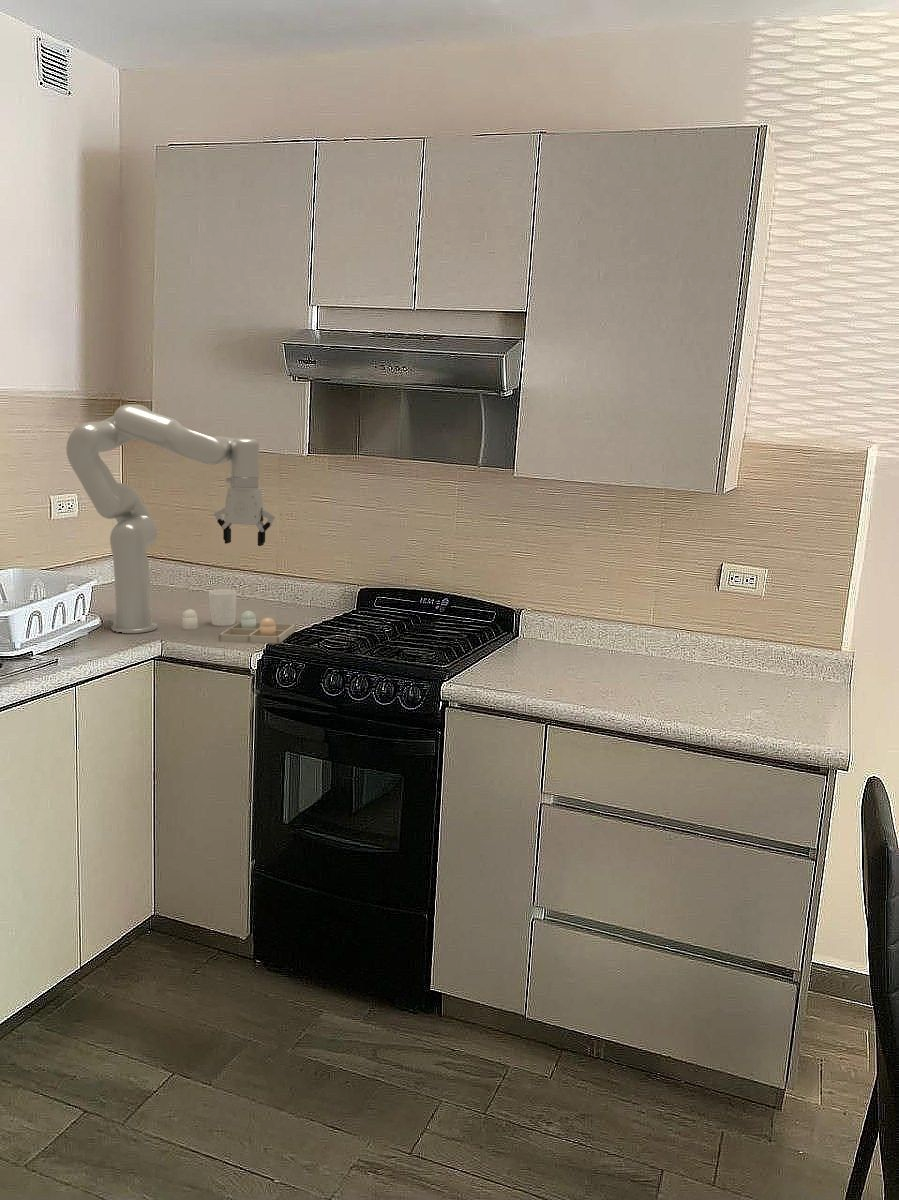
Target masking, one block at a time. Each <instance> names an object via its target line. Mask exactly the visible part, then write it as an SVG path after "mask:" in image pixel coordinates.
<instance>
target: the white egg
mask: <svg viewBox="0 0 899 1200" xmlns="http://www.w3.org/2000/svg"><path fill="white" fill-rule="evenodd" d="M198 615H199V614H198V613H197V611H196V610H194V609H192V608H187V609H186V610H184V611H183V613H182V629H183V630H186V631H188V630H193V631H194V630H197V629H199V625H198V624H199V622H198V621H199V620H198V618H199V617H198Z"/></svg>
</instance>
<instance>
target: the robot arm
mask: <svg viewBox="0 0 899 1200" xmlns="http://www.w3.org/2000/svg"><path fill="white" fill-rule="evenodd" d="M134 440H139V441H142V442H145V443H148V444H152V445H154V446H158V447H159V448H160V447H161V448H162V449H163V448H164V449H165V450H167V451H170V452H171V453H172V452H173V453H175V454H177V455H178V456H182V457H185V458H187V459H191V460H194V461H196V462H199V463H201V464H206V465H210V466H212V465H214V466H215V465H219V464H225V463H230V464H231V465H230V469H231V471H230V477H227V478H226V484H227V483H228V484H230V487H227V491H226V496H225V505H224V508H221V509H220V510H218V511H215V512H214V513H213V514H214V516H215V519H216V521H217V524H218V525H219V526H221V528H222V530H223V533H222V534H223V535H222V536H223V538H222V539H223V541H224V544H225V545H226V544H230V543H232V529H231V528H230V527H231V526H232V525H233V524H234V525H246V526H255V527H256V528H257V529H258V530H259V531H257V546H258V547H261V546H264V544H265V543H266V531H268V529H270V527H272V524H273V522H274V520H275V519H276V517H275V515H273V514H272V513H270V512H269V511H267V510H265V509H264V500H263V493H262V488H260V487H259V483H260V481H259V479H260V478H259V477H260V476H259V475H260V443H259V441H258V440H257V439H255V438H249V437H248V438H247V437H246V438H245V437H237V438H236V437H235V438H233V437H229V436H224V435H223V436H222V435H215V436H210V435H207V434H203V433H200V432H198V431H194V430H192V429H190V428H188V427H185V426H183V425H181V423H180V422H179V421H178V420H177V419H175V418H172V417H169V416H166V415H163V414H160V413H158V412H155V411H152V410H150V409H149V408H148V407H146V406H144V405H142V404H136V403H135V404H129V403H128V404H123V405H121V406H119V407H118V408H117V409H116V410H115V411H114V413H113V415H112V416H110V417H107V418H106V419H103V420H102V421H101V420H100V421H88V422H84V423H83V422H82V423H80V424H79V425H78V426H76V427H74V429H73V430H71V433H70V434H69V436H68V439H67V441H66V448H65V449H66V456H67V459H68V462H69V464H70V466H71V469H72V470H73V472H74V473H75V475H76V476H77V479H78V481H80V483H81V485H82V487H83V489H84V491H85V492H86V494H87V496H88V497H89V499H90V501H91V503H92V504H93V507H94V508H95V510H96V511H97V513H98V514H99V515H100V516H101V518H104V519H107V520H112V519H113V520H114V519H115V520H116V522H117V523H116V524H115V525H114V527H113V528H112V529H111V532H110V536H109V542H110V548H111V553H112V561H113V562H112V563H113V574H114V575H113V576H114V592H115V597H114V598H115V613H114V614H112V613H105V614H104V615H103V621H104V623H105V622H106V623H109V622H110V623H112V625H111V626H110V627H111V629H112V630H113V631H112V630H111V631H112V632H114V631H116V632H115V633H118V632H122V633H121V634H141V633H147V632H153V631H155V630H156V629H158V623H156V622H154V621H152V610H151V608H152V606H151V585H150V583H151V581H150V566H149V560H148V554H147V548H150V547H151V546H153V545H154V543H155V542H156V540H157V536H158V528H157V525H156V523H155V521H154V519H153V517H152V516H151V514H150V512H149V510H148V509H147V507H146V505H145V504H144V502H143V500H142V498H141V497H140V495H139V494H138V492H137V491H136V489H134V487H132V486H130V485H128V484H126V483H123V482H117V480H116V479H115V477H114V476H113V473H112V472H111V470H110V469H109V467H108V466H107V464H106V463H105V462H104V460H103V459H102V458H101V457H100V454H99V453H102V452H103V453H105V452H109V451H112V450H115V449H117V448H119V447H121V446H123V445H125V444H127V443H129V442H131V441H134ZM222 515H224V519H223V517H222ZM264 517H265V518H266V519H267V521H266V523H265V524H264Z"/></svg>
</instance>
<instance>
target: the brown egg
mask: <svg viewBox="0 0 899 1200" xmlns="http://www.w3.org/2000/svg"><path fill="white" fill-rule="evenodd" d="M259 623H260V636H274V637H276V624H277V623H276V621H275V620H274V619H273V618H272V617H264V618H262V620H261V621H260V622H259ZM275 623H276V624H275Z"/></svg>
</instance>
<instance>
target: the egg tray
mask: <svg viewBox="0 0 899 1200" xmlns="http://www.w3.org/2000/svg"><path fill="white" fill-rule="evenodd" d="M260 623H261V622H256V629H243V628H241V621H238V622H237V623H236V622H235V624H233V625H231V626H230V627H229V628H226V629H224V631H222V632H221V633H219V634H218V642H228V643H249V644H271V645H272V644H274V645H280V644H281V643H282V642H283V641H284V640H286V639H287V638H288V637H290V636H291V635H292V634H294V633H295V632H296V631H297V624H296V623H276V622H275V624H276V637H274V636H260Z"/></svg>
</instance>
